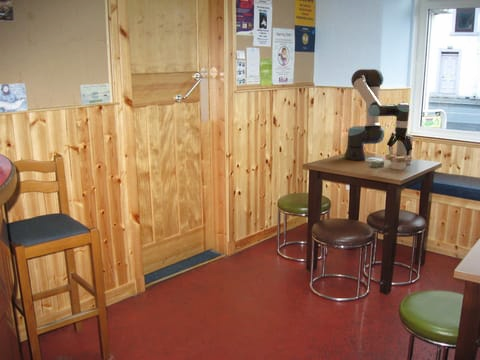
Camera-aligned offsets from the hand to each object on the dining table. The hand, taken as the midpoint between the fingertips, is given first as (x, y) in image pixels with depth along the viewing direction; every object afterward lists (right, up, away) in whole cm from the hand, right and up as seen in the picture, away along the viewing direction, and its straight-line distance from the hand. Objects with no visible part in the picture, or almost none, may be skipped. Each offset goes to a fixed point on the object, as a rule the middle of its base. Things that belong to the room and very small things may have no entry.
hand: (398, 158), depth 346 cm
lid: (0, -1, 0) cm, 1 cm away
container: (+8, -3, +16) cm, 19 cm away
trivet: (-13, -6, +5) cm, 15 cm away
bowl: (0, -7, +1) cm, 7 cm away
